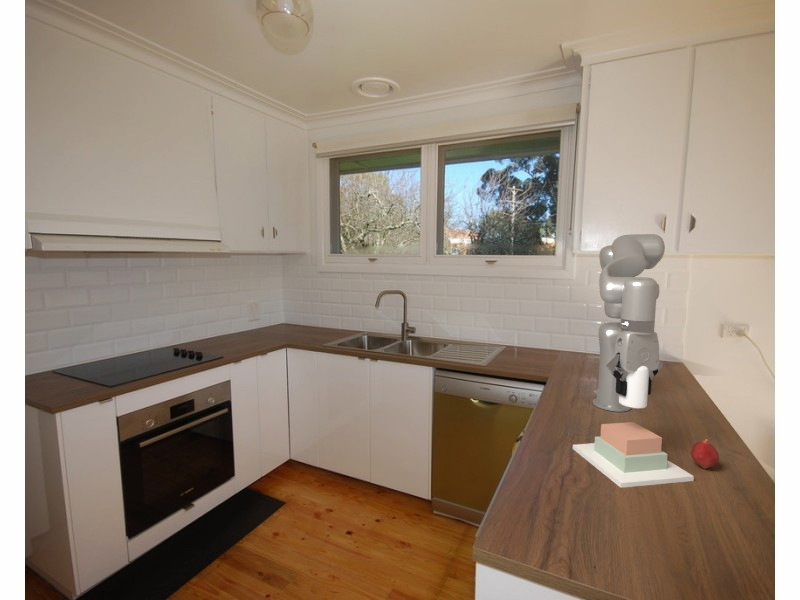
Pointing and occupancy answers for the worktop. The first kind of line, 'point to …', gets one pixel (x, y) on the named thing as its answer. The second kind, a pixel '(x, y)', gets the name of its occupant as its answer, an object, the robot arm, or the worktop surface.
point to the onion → (704, 454)
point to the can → (636, 389)
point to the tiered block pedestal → (631, 456)
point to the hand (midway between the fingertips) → (633, 393)
